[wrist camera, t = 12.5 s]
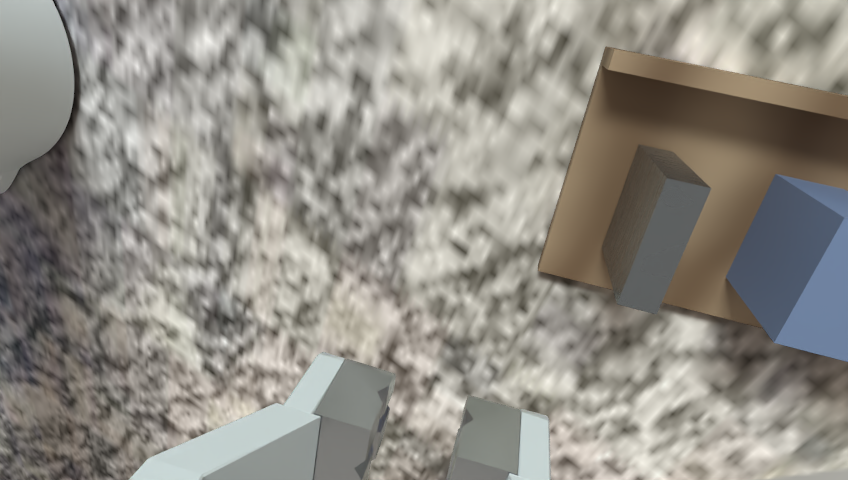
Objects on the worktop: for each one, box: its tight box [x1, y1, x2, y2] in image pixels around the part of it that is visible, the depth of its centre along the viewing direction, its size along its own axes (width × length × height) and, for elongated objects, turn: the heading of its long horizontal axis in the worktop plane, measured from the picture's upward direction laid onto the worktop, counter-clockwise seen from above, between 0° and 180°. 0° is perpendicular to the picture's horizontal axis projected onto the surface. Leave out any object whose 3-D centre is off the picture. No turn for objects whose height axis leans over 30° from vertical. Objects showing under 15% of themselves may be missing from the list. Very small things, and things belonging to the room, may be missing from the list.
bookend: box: [602, 144, 711, 314], centre depth 23 cm, size 2×6×6 cm, turn 169°
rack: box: [538, 47, 848, 328], centre depth 22 cm, size 17×12×7 cm
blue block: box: [726, 174, 848, 362], centre depth 22 cm, size 3×6×6 cm, turn 169°
